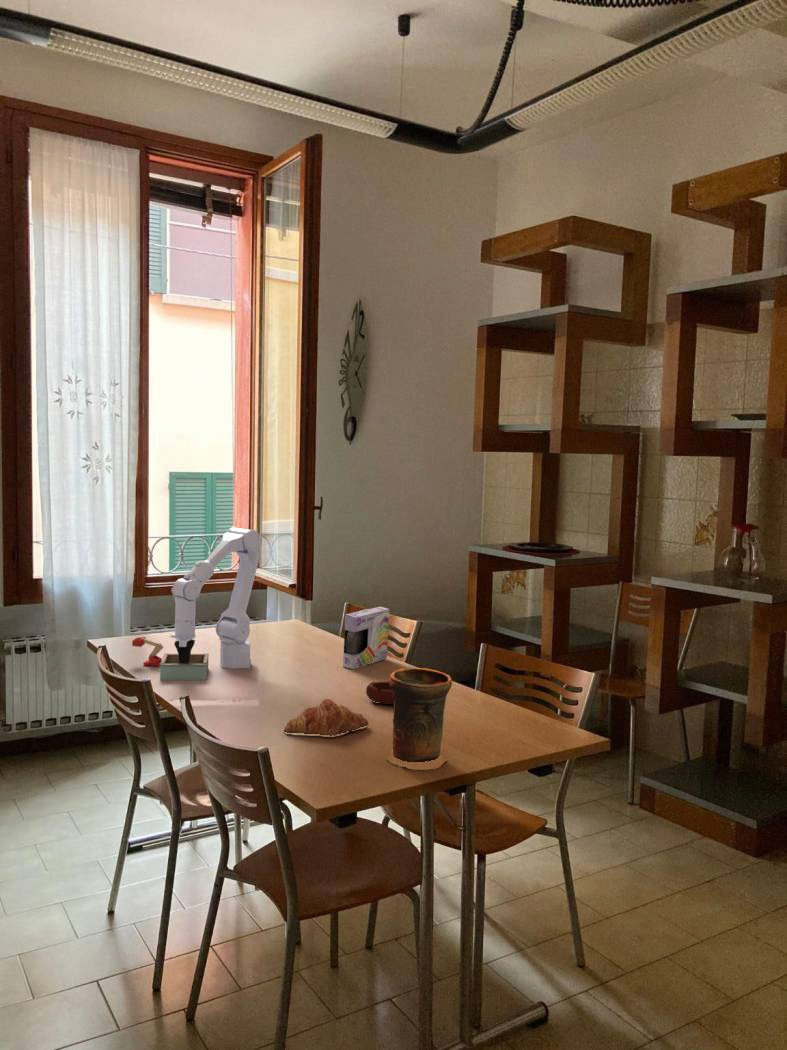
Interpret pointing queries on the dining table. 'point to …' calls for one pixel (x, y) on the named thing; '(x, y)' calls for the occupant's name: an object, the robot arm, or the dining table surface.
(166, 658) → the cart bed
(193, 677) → the panel
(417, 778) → the dining table surface
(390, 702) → the ashtray
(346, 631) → the cake pan box
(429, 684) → the vessel
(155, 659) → the red desk lamp
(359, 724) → the pastry
